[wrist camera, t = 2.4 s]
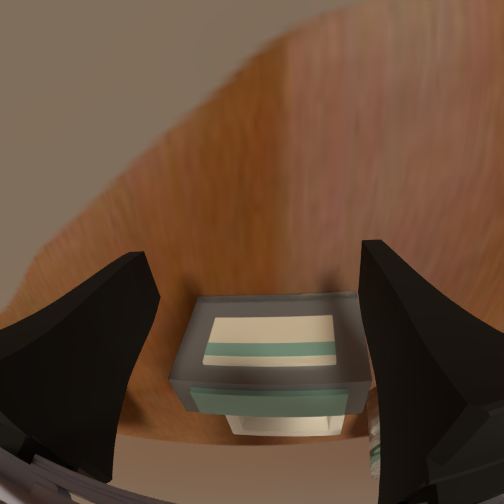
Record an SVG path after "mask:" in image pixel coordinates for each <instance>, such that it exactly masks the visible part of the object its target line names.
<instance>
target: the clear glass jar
mask: <svg viewBox="0 0 504 504" xmlns="http://www.w3.org/2000/svg"><path fill="white" fill-rule="evenodd" d="M366 408H367V418H368V429H369V441H370V466H371V470H372V471H371V472H372V477H373V478H376V479H380V421H379V405H378V393H377V387H375V388H373V389H372V390H371V391H370V392H369V393H368V397H367V400H366Z"/></svg>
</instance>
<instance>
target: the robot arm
mask: <svg viewBox="0 0 504 504" xmlns="http://www.w3.org/2000/svg"><path fill="white" fill-rule="evenodd" d="M358 295H359V303H360V310H361V318H362V323H363V327H364V331H365V335H366V339H367V343H368V347H369V351H370V356H371V360H372V365H373V369H374V374H375V379H376V385H377V393H378V405H379V421H380V482H379V498H378V504H504V333H502V332H500V331H498V330H496V329H495V328H493V327H491V326H490V325H488V324H486V323H485V322H483V321H481V320H480V319H478V318H476V317H475V316H473V315H472V314H470V313H469V312H467V311H466V310H464V309H463V308H461V307H460V306H459V305H457V304H456V303H454V302H453V301H451V300H450V299H449V298H447V297H446V296H445V295H443V294H442V293H441V292H440V291H438V290H437V289H436V288H435V287H434V286H432V285H431V284H430V283H429V282H427V281H426V280H425V279H424V278H423V277H422V276H420V275H419V274H418V273H417V272H416V271H415V270H414V269H413V268H411V267H410V266H409V265H408V264H407V263H406V262H405V261H404V260H403V259H402V258H401V257H400V256H398V255H397V254H396V253H395V252H394V251H393V250H392V249H391V248H390V247H389V246H388V245H387V244H385V243H384V242H383V241H382V240H362V248H361V264H360V277H359V288H358ZM159 301H160V294H159V292H158V289H157V286H156V284H155V281H154V278H153V276H152V273H151V270H150V267H149V264H148V262H147V259H146V256H145V253H144V251H141V252H129V253H127V254H125V255H123V256H121V257H120V258H118V259H116V260H115V261H113V262H112V263H110V264H109V265H107V266H106V267H104V268H103V269H101V270H100V271H99V272H97V273H96V274H94V275H93V276H91V277H90V278H89V279H87V280H86V281H84V282H83V283H82V284H80V285H79V286H77V287H76V288H74V289H73V290H71V291H70V292H68V293H67V294H65V295H64V296H62V297H61V298H59V299H58V300H56V301H55V302H53V303H52V304H50V305H48V306H47V307H45V308H43V309H41V310H40V311H38V312H36V313H34V314H33V315H31V316H28V317H26V318H24V319H23V320H21V321H19V322H17V323H15V324H13V325H10V326H8V327H6V328H3V329H1V330H0V504H79V503H77V502H75V501H73V500H72V499H71V495H70V494H69V493H72V494H74V495H76V496H78V497H81V498H83V499H85V500H88V501H90V502H92V503H95V504H176V503H171V502H167V501H163V500H158V499H155V498H151V497H147V496H143V495H139V494H136V493H133V492H129V491H126V490H123V489H119V488H116V487H114V486H110V485H108V484H106V483H108V482H110V481H111V480H112V470H113V456H114V446H115V439H116V433H117V426H118V421H119V416H120V412H121V407H122V403H123V399H124V395H125V392H126V388H127V385H128V381H129V378H130V376H131V373H132V370H133V368H134V366H135V363H136V361H137V359H138V356H139V354H140V352H141V349H142V347H143V345H144V343H145V340H146V338H147V336H148V334H149V331H150V329H151V327H152V324H153V322H154V319H155V315H156V312H157V309H158V305H159Z"/></svg>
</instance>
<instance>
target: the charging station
mask: <svg viewBox="0 0 504 504" xmlns="http://www.w3.org/2000/svg"><path fill="white" fill-rule="evenodd" d="M168 380H169V382H170V383H171V385H172V387H173V389H174V390H175V392H176V394H177V396H178V397H179V399H180V401H181V403H182V404H183V406H184V408H185V409H186V411H193V412H200V413H207V414H218V415H225V416H226V418H227V420H228V423H229V425H230V427H231V430H232V432H233V434H239V435H258V436H325V435H340V433H341V429H342V424H343V420H344V416H345V415H348V414H361V413H363V410H364V407H365V403H366V400H367V397H368V393H369V390H370V386H371V383H372V377H371V370H370V364H369V358H368V352H367V346H366V340H365V334H364V329H363V324H362V318H361V313H360V308H359V303H358V298H357V293H356V291H350V292H330V293H308V294H281V295H243V296H198V299H197V301H196V304H195V307H194V309H193V312H192V315H191V317H190V320H189V323H188V325H187V328H186V331H185V333H184V336H183V339H182V342H181V344H180V347H179V350H178V353H177V355H176V358H175V361H174V364H173V367H172V369H171V372H170V375H169V378H168Z"/></svg>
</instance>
